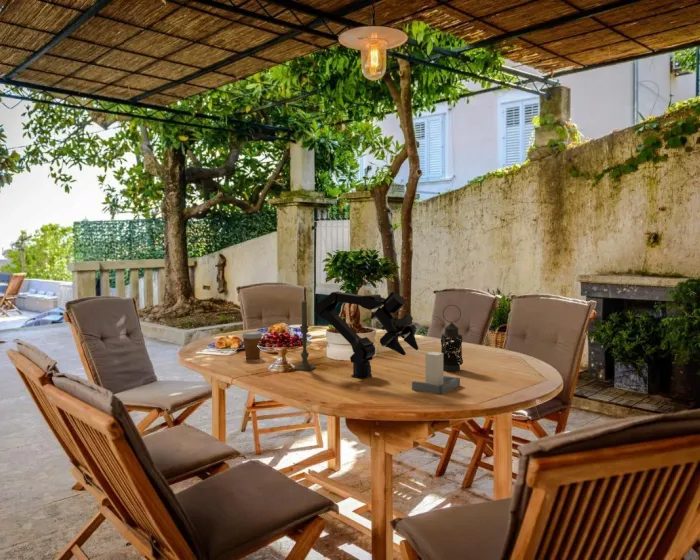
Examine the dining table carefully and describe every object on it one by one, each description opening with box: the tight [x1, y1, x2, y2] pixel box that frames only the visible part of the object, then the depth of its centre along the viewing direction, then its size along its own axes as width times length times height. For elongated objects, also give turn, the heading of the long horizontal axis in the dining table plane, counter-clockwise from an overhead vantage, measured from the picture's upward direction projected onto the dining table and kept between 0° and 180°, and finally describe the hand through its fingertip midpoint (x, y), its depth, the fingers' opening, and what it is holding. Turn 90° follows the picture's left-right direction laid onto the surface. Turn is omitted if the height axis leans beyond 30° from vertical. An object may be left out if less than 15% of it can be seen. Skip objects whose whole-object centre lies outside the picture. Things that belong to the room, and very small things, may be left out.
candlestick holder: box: [294, 299, 316, 371], centre depth 258 cm, size 9×9×30 cm
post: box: [424, 351, 444, 385], centre depth 224 cm, size 5×5×13 cm
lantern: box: [440, 304, 464, 373], centre depth 252 cm, size 10×9×28 cm
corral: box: [411, 375, 461, 395], centre depth 224 cm, size 12×15×3 cm
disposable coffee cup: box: [241, 330, 263, 360], centre depth 282 cm, size 10×10×12 cm
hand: (411, 352), depth 229 cm, fingers open, 9 cm apart
